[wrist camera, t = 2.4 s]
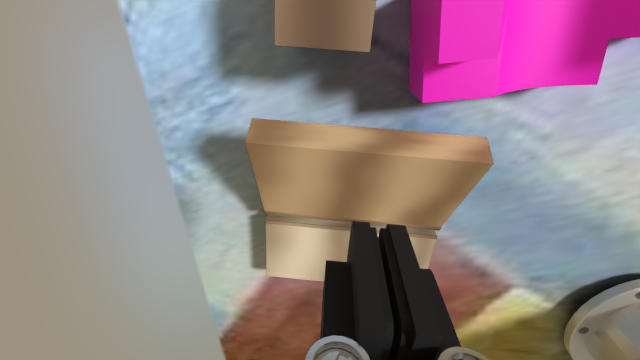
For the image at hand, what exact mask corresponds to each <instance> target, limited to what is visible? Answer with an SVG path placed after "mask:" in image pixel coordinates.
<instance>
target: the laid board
mask: <svg viewBox="0 0 640 360" xmlns="http://www.w3.org/2000/svg"><path fill="white" fill-rule="evenodd" d="M265 223H266V276H275V277H285V278H295V279H305V280H315V281H324V276H325V266H326V260H329V261H341V262H347V254H348V246H349V239H350V231H351V224H352V222H342V221H331V220H320V219H309V218H298V217H287V216H276V215H267V218H266V220H265ZM370 227H375V228H376V230H377V236H379V231H380V228H386V226H385V225H374V224H370ZM406 228H407V227H406ZM407 231H408V234H409V237H410V240H411V243H412V246H413V249H414V252H415V255H416V258H417V261H418V264H419V267H420V268H422V269H428V266H429V262H430V259H431V255H432V251H433V248H434V244H435V240H436V238H437V235H436V233H435V231H434V230H428V229H417V228H407Z"/></svg>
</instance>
